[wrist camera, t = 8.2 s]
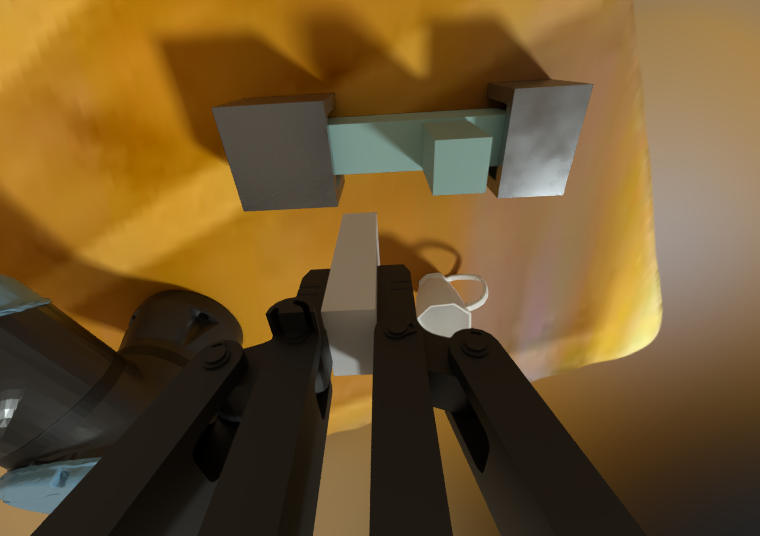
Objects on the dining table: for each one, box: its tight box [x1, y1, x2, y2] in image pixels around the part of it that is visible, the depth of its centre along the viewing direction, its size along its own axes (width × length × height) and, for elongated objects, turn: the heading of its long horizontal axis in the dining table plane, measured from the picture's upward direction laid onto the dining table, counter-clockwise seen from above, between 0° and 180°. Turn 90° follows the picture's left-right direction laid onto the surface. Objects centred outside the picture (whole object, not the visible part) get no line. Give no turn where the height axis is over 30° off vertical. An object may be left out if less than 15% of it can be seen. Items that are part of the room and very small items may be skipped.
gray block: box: [212, 93, 345, 211], centre depth 30 cm, size 9×9×7 cm
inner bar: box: [328, 108, 507, 195], centre depth 28 cm, size 21×4×12 cm, turn 93°
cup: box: [416, 272, 488, 337], centre depth 40 cm, size 7×10×8 cm
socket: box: [486, 79, 594, 198], centre depth 30 cm, size 6×9×7 cm
